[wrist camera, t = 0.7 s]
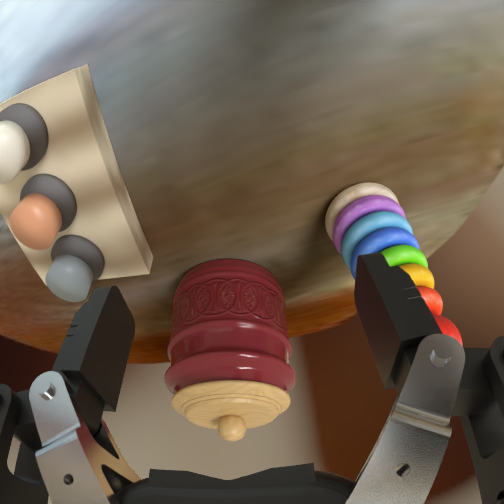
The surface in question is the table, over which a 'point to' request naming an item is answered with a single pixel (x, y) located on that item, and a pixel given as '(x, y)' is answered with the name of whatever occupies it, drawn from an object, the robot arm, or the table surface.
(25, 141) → the ivory button
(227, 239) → the table surface
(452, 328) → the stacking toy
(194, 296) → the canister
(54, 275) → the slate button
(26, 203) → the terracotta button
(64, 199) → the button panel
